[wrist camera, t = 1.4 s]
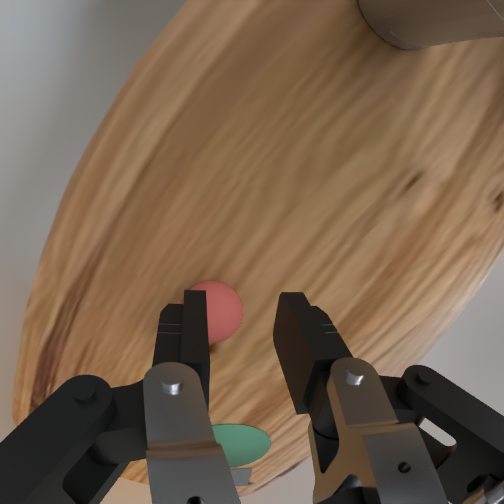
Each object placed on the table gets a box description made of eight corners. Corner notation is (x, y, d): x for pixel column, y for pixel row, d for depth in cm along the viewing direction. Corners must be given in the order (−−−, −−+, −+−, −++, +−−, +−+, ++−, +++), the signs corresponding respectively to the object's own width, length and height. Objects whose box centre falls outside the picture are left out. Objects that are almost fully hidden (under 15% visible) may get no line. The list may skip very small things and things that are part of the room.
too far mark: (205, 469, 43) (205, 470, 43) (251, 467, 45) (252, 468, 45) (205, 486, 46) (206, 487, 46) (247, 484, 48) (247, 485, 48)
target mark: (176, 423, 37) (176, 424, 37) (277, 421, 40) (277, 422, 39) (182, 467, 42) (182, 468, 42) (263, 464, 45) (264, 465, 45)
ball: (182, 268, 28) (178, 300, 23) (241, 270, 29) (250, 302, 24) (181, 318, 30) (179, 354, 25) (236, 319, 31) (243, 355, 26)
